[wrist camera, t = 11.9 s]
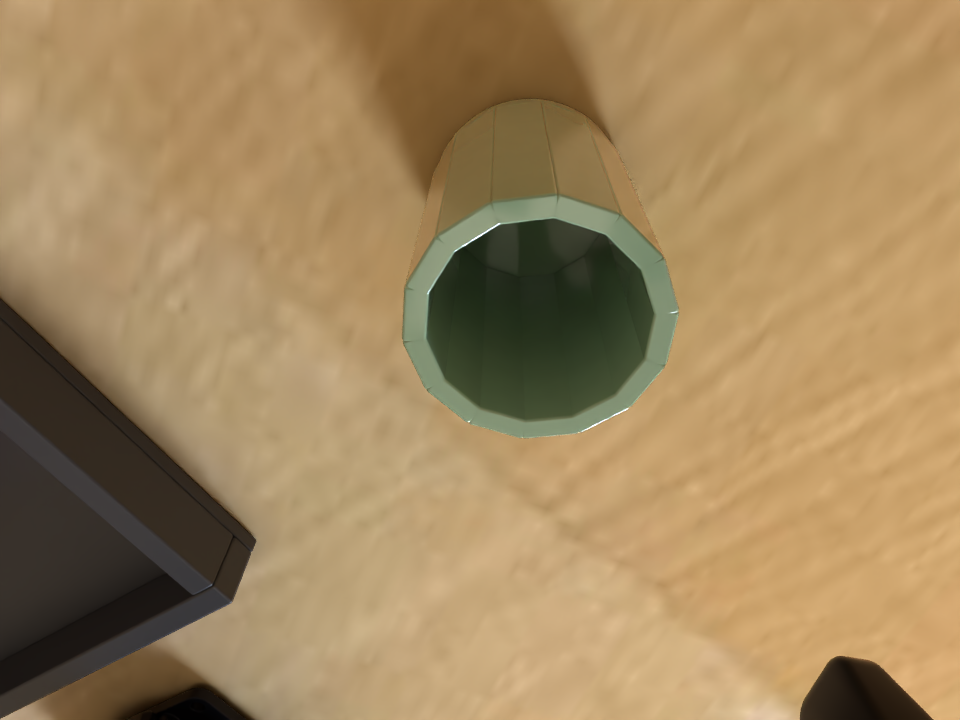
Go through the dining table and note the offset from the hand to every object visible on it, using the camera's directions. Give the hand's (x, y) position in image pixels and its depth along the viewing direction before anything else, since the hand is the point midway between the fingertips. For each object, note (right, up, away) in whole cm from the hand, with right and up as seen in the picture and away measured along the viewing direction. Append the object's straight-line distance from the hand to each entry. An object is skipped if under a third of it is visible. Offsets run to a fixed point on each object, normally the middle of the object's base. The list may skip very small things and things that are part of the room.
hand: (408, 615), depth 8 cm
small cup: (+2, +6, +10) cm, 12 cm away
